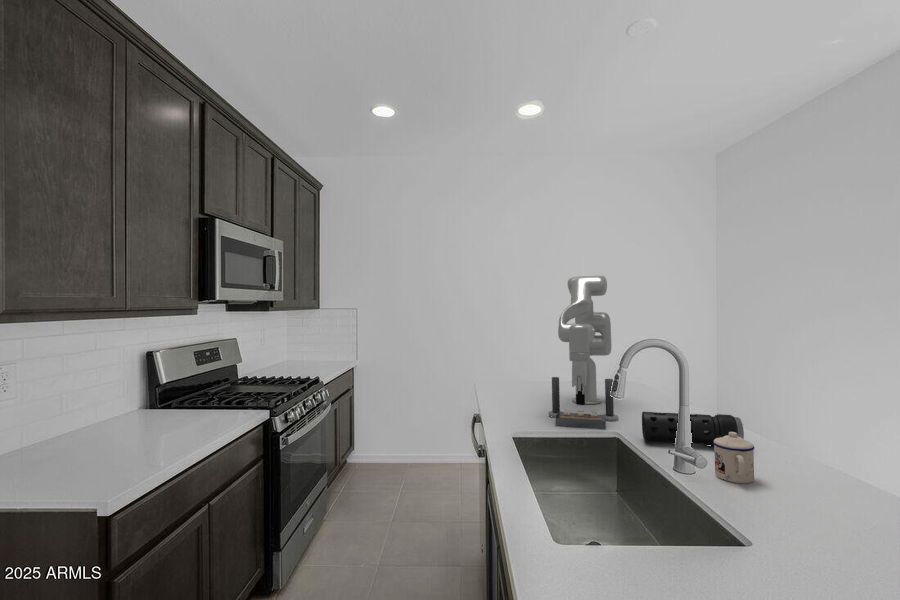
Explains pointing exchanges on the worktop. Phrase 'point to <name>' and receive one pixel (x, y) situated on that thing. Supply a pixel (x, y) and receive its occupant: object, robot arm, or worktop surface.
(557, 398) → the post
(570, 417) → the breaker panel
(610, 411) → the post
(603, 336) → the robot arm
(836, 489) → the worktop surface
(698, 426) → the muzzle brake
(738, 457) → the teacup with lid
